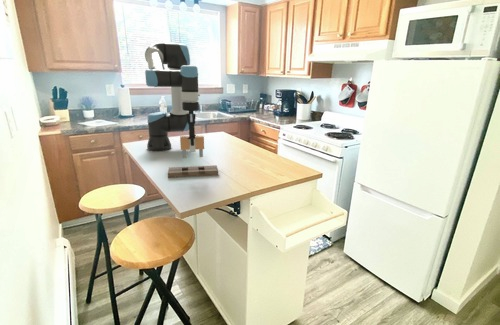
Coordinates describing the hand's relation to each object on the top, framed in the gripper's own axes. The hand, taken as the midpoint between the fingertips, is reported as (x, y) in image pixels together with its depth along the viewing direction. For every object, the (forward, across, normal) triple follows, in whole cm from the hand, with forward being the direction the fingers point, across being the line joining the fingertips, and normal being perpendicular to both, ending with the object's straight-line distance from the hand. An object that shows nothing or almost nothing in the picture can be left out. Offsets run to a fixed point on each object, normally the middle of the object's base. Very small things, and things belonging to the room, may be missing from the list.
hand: (192, 150), depth 130 cm
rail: (+12, 0, 0) cm, 12 cm away
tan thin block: (+3, 0, 0) cm, 3 cm away
